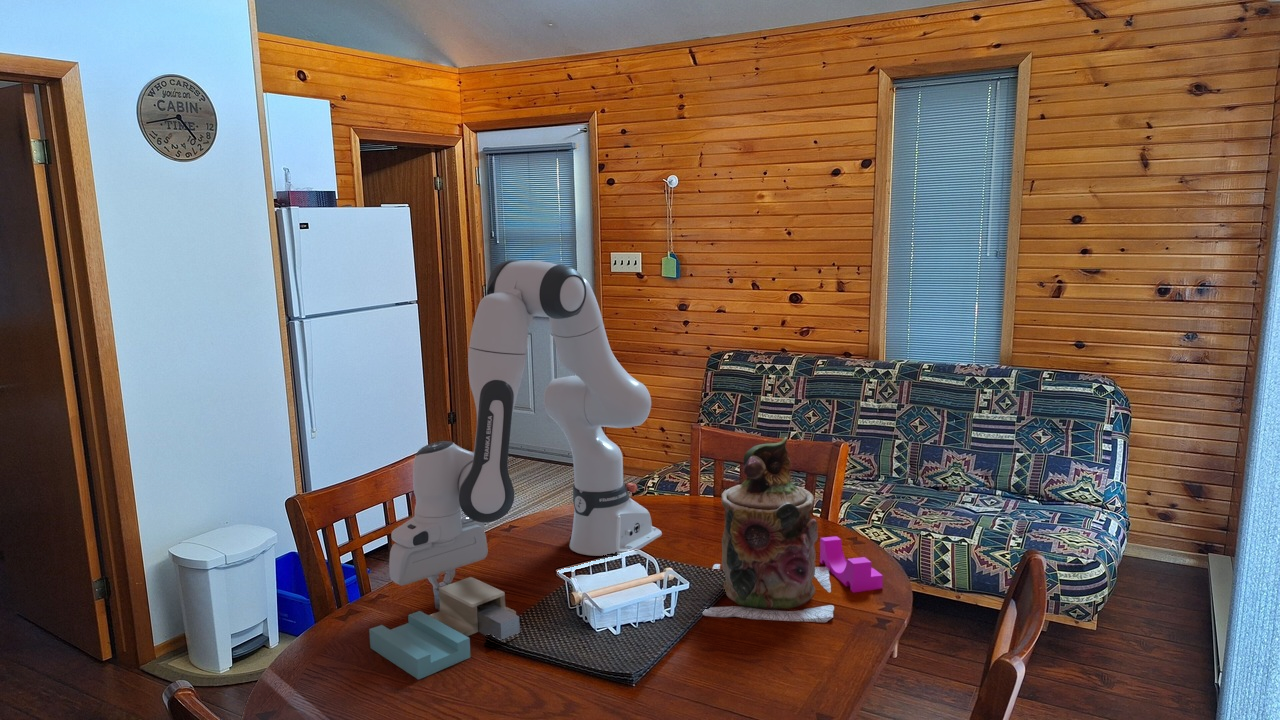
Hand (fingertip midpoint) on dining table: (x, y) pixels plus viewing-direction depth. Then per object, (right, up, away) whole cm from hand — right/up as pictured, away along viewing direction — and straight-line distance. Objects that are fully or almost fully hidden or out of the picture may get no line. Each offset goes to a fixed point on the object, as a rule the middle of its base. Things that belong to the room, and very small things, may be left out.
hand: (442, 592), depth 163 cm
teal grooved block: (+1, -5, -20) cm, 20 cm away
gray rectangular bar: (+8, -3, -8) cm, 12 cm away
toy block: (+82, 0, +6) cm, 82 cm away
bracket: (+7, -3, -7) cm, 10 cm away
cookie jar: (+64, -1, 0) cm, 64 cm away
